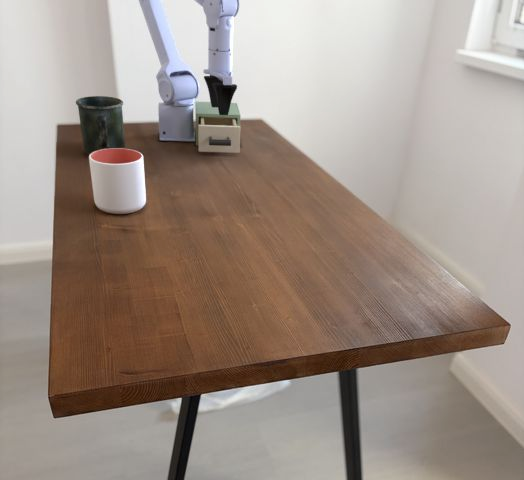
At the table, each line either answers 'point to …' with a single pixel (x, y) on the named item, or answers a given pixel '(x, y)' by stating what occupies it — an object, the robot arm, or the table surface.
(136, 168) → the cup
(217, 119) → the drawer
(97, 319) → the table surface
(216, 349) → the table surface
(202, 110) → the cabinet
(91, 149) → the mug
